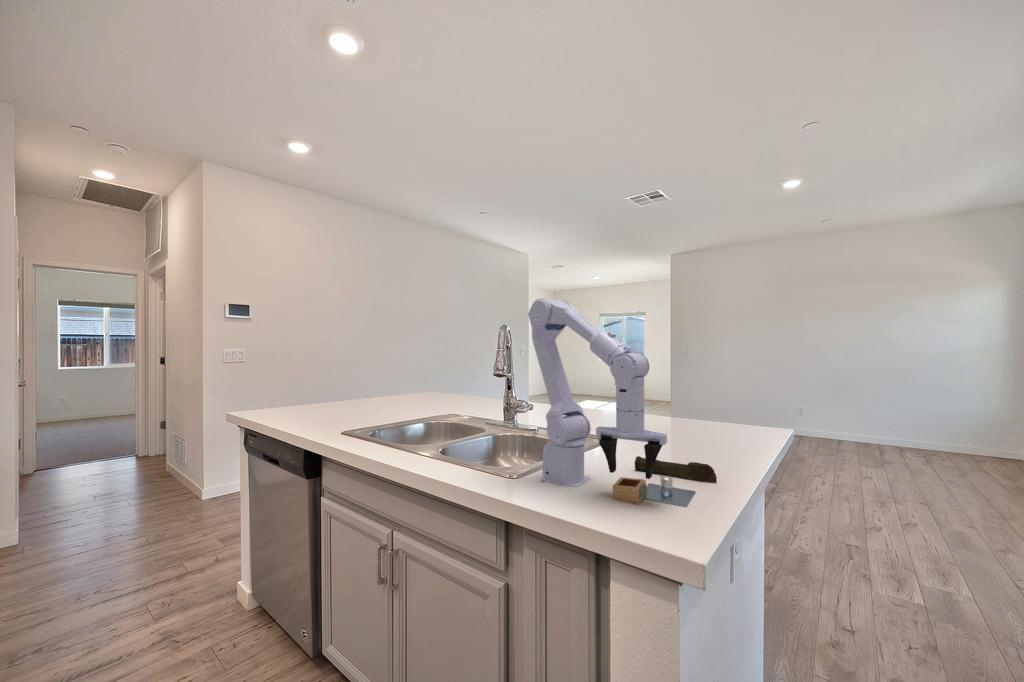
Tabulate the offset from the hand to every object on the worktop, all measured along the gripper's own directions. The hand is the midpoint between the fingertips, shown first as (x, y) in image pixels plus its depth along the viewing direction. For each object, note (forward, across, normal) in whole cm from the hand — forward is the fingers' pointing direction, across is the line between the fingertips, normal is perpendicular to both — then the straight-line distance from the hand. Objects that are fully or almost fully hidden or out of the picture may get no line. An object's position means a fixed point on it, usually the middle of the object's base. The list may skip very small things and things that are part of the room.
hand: (630, 474), depth 90 cm
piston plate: (+5, +6, +6) cm, 10 cm away
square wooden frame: (+5, 0, 0) cm, 5 cm away
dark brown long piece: (+6, +4, +21) cm, 22 cm away
